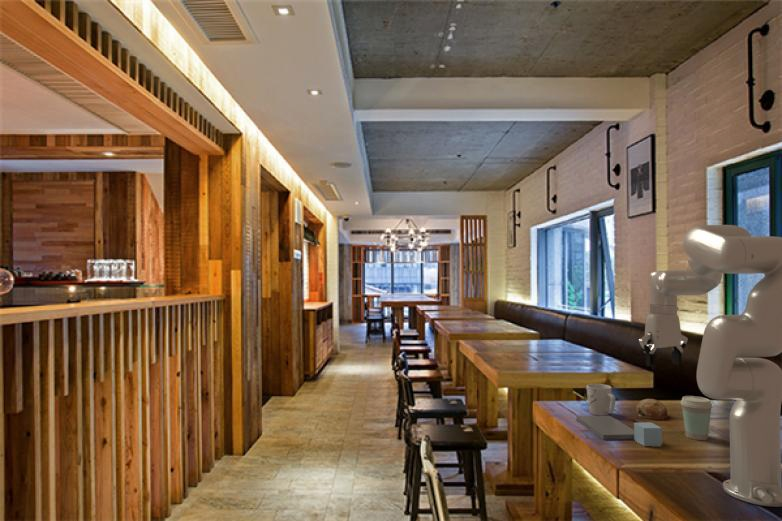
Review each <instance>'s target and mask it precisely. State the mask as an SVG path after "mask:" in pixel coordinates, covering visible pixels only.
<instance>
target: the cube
mask: <svg viewBox="0 0 782 521" xmlns="http://www.w3.org/2000/svg"><path fill="white" fill-rule="evenodd" d="M633 430H634V439H633V440H635V441H634V442H636V441H637V442H636V443H638V444H639V443H640V444H639V445H641V444H642V445H644V446H652V447H662V446H663V428H662V427H661V426H659V425H657V424H655V423H653V422H648V421H647V422H633ZM642 445H641V446H642ZM661 445H662V446H661ZM644 446H643V447H644Z"/></svg>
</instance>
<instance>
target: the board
mask: <svg viewBox="0 0 782 521" xmlns="http://www.w3.org/2000/svg"><path fill="white" fill-rule="evenodd" d="M576 421H577V423H579V424H580V425H581V426H583V427H585V428H586V429H588V430H589V431H590V432H591V433H593V434H594V435H596V436H598V437H599V438H600V439H601V440H603V441H608V440H609V441H613V440H615V441H616V440H617V441H618V440H634V428H632V427H629V426H628V425H626V424H624V423H623V422H621V421H620V420H618V419H617V418H614V417H613V416H612V415H606V416H598V415H581V416H579V415H578V416H577V415H576Z"/></svg>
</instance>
